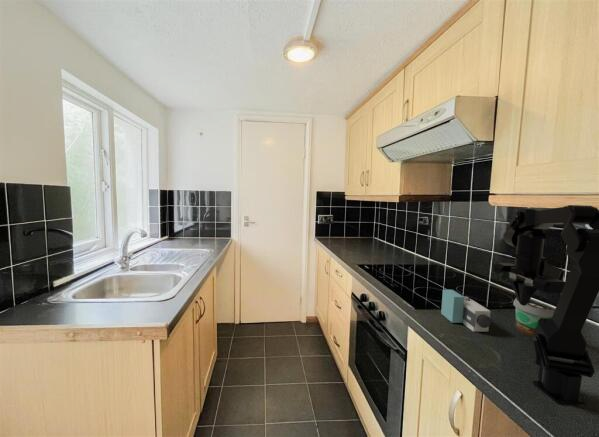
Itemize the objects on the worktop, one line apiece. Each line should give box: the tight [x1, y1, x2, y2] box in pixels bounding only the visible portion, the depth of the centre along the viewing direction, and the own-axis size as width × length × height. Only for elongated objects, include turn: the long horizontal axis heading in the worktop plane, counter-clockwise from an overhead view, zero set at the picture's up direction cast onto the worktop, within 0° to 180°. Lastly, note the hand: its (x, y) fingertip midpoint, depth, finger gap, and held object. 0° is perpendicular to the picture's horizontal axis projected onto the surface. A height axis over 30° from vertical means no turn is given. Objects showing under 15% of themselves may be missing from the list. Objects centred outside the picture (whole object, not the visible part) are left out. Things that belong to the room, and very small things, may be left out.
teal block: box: [440, 289, 465, 324], centre depth 97 cm, size 7×4×9 cm, turn 1°
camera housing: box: [461, 296, 492, 333], centre depth 94 cm, size 13×5×8 cm, turn 1°
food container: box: [512, 296, 555, 338], centre depth 88 cm, size 12×6×10 cm, turn 21°
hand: (523, 305), depth 79 cm, fingers closed
